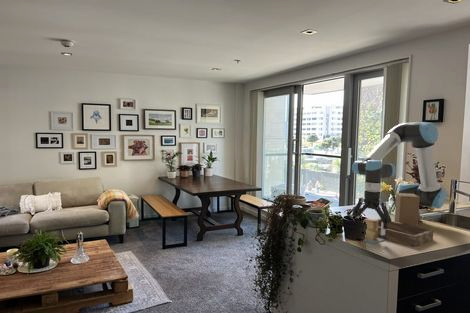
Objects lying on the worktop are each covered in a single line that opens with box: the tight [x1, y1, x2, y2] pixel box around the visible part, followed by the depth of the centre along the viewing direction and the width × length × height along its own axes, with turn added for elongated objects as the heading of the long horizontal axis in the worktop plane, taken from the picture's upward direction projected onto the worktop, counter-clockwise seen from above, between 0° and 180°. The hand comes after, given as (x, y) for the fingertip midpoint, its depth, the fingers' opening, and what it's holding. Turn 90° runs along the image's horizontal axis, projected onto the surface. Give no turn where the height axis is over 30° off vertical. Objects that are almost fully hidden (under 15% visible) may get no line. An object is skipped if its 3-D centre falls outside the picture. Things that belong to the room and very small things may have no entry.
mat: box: [362, 237, 385, 245], centre depth 174 cm, size 10×10×1 cm
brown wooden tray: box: [376, 218, 434, 248], centre depth 181 cm, size 19×29×5 cm, turn 36°
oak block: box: [363, 217, 378, 241], centre depth 173 cm, size 5×5×10 cm
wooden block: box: [394, 192, 420, 227], centre depth 194 cm, size 10×10×20 cm
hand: (370, 231), depth 173 cm, fingers open, 13 cm apart
